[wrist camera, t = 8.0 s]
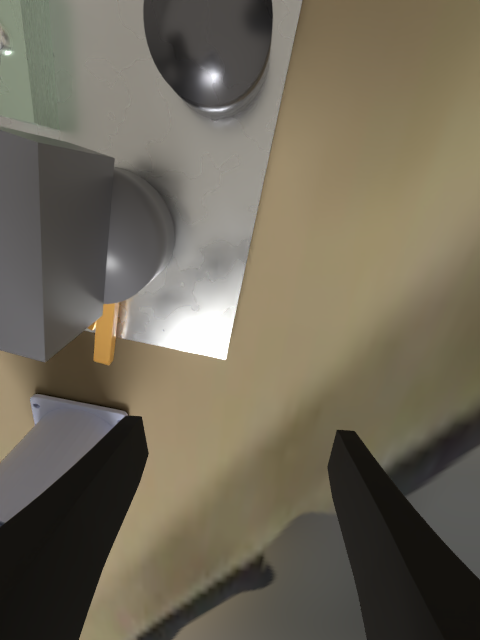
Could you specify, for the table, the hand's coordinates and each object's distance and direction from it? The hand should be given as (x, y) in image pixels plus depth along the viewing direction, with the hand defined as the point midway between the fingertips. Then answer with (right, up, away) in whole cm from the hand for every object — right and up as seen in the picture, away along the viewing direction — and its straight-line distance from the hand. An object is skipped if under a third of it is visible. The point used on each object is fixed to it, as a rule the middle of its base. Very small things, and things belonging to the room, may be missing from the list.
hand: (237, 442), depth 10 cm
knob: (-7, +7, +5) cm, 11 cm away
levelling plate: (-9, +12, +5) cm, 16 cm away
